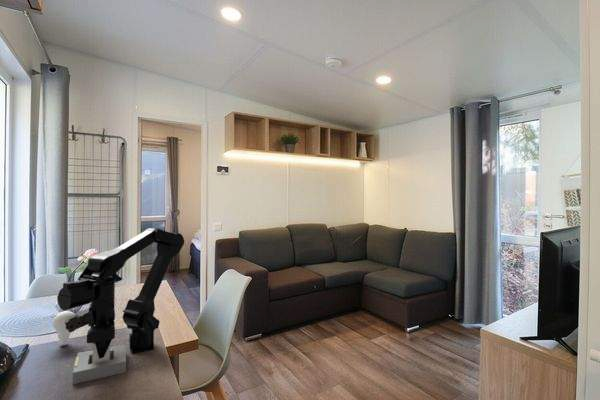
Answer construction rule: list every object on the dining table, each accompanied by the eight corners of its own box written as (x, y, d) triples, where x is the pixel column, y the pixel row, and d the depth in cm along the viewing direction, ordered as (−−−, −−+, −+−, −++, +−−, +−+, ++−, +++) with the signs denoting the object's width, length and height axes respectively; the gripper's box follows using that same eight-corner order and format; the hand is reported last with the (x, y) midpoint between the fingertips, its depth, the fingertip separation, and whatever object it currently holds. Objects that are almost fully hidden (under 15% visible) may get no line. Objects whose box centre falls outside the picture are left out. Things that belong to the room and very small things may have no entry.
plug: (109, 354, 91) (110, 330, 91) (109, 360, 87) (110, 335, 87) (93, 357, 89) (93, 332, 89) (92, 364, 85) (92, 338, 85)
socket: (124, 353, 96) (125, 343, 96) (125, 372, 86) (126, 360, 86) (77, 363, 90) (77, 352, 90) (72, 384, 80) (72, 371, 80)
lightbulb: (62, 350, 98) (63, 315, 98) (46, 348, 99) (47, 313, 99) (80, 342, 104) (80, 309, 104) (65, 340, 105) (65, 307, 105)
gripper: (71, 294, 92) (70, 347, 92) (62, 314, 76) (61, 378, 76) (115, 289, 98) (114, 339, 98) (115, 307, 82) (114, 366, 82)
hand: (101, 354), depth 88 cm, fingers closed on plug, 4 cm apart
